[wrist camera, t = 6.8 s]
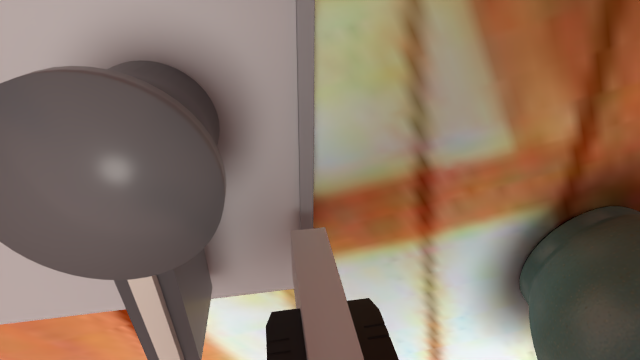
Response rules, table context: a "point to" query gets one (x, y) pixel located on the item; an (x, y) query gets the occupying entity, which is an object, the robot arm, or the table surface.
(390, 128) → the table surface
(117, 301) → the tuner board
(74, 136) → the tuner knob
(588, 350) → the flower pot
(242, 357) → the table surface
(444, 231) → the table surface
